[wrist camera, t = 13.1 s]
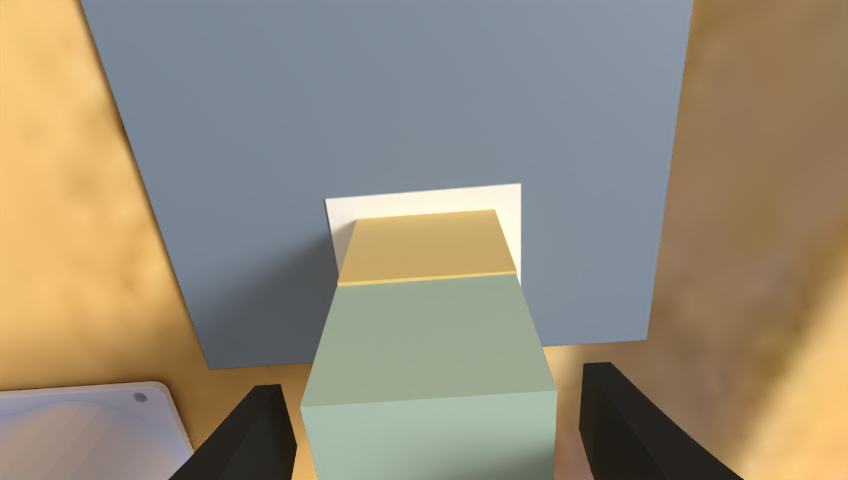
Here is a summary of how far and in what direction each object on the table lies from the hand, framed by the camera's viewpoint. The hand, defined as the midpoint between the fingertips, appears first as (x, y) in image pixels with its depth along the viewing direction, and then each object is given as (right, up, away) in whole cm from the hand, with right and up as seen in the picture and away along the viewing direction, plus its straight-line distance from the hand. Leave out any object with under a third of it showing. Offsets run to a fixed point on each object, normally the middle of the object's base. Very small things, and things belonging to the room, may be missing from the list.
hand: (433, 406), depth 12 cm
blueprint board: (-1, +7, +4) cm, 8 cm away
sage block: (0, +1, +2) cm, 2 cm away
